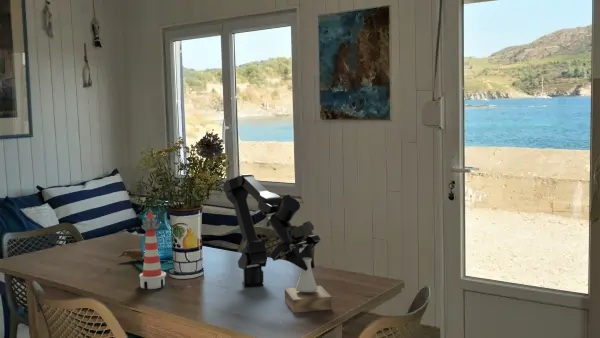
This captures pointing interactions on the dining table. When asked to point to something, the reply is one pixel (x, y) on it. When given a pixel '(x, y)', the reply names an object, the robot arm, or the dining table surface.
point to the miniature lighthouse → (151, 257)
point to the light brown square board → (307, 300)
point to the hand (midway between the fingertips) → (310, 268)
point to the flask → (306, 279)
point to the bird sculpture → (133, 254)
